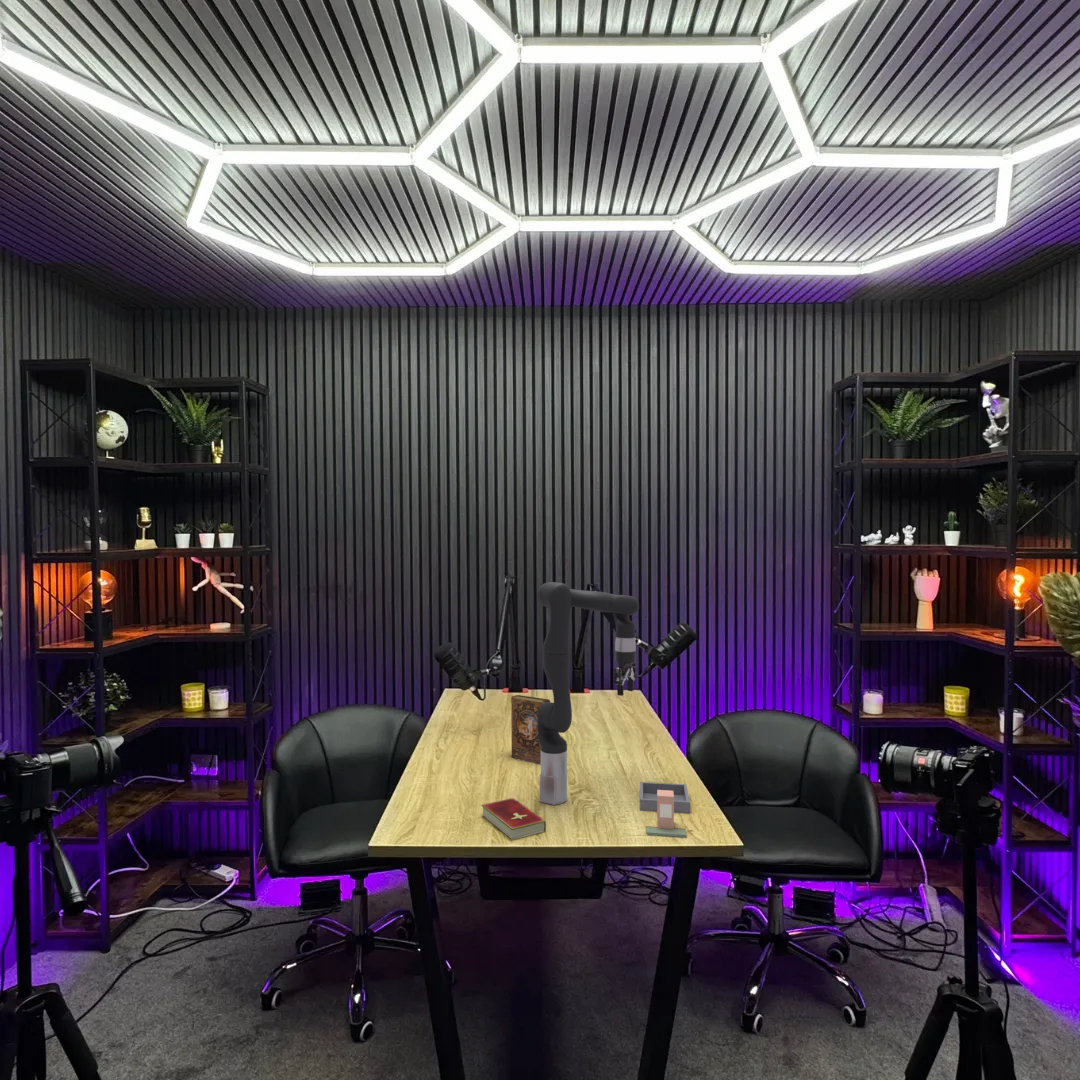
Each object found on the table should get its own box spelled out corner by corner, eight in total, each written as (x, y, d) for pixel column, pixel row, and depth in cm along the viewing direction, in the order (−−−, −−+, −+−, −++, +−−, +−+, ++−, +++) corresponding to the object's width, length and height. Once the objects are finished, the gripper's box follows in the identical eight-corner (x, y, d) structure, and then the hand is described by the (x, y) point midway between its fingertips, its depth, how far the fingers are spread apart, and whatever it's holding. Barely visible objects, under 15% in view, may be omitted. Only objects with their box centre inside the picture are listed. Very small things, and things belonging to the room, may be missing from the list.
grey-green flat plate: (686, 837, 202) (686, 834, 202) (646, 834, 204) (646, 832, 204) (684, 820, 214) (684, 818, 214) (646, 818, 216) (646, 816, 216)
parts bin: (689, 816, 218) (689, 802, 218) (639, 813, 220) (639, 799, 220) (686, 797, 234) (686, 784, 233) (640, 794, 236) (640, 781, 236)
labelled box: (673, 829, 206) (673, 797, 206) (657, 828, 207) (657, 796, 207) (673, 822, 211) (673, 790, 211) (657, 821, 212) (657, 789, 212)
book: (509, 758, 275) (509, 697, 275) (516, 754, 280) (516, 694, 280) (543, 764, 267) (543, 702, 267) (550, 760, 272) (550, 699, 271)
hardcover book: (513, 809, 225) (513, 796, 225) (546, 833, 207) (546, 819, 207) (481, 816, 219) (481, 803, 219) (511, 842, 201) (511, 828, 201)
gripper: (626, 653, 239) (626, 698, 240) (642, 647, 251) (642, 690, 252) (607, 651, 243) (607, 695, 244) (624, 645, 255) (624, 688, 256)
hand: (625, 693), depth 248 cm, fingers open, 8 cm apart
